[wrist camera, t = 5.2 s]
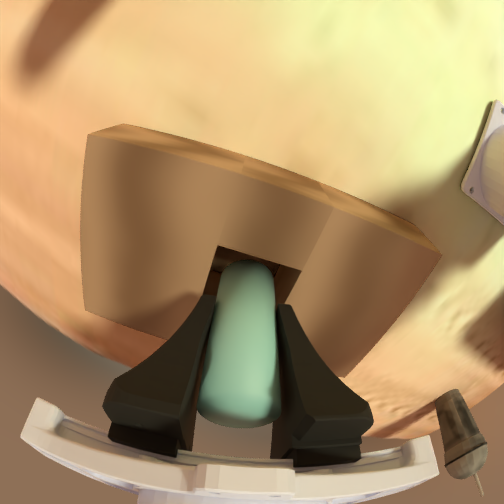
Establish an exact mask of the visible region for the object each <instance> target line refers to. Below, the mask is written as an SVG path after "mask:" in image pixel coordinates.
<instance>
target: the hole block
mask: <svg viewBox="0 0 504 504" xmlns="http://www.w3.org/2000/svg"><path fill="white" fill-rule="evenodd" d="M80 245H81V271H82V285H83V297H84V306H85V310H86V311H88V312H91V313H93V314H95V315H98V316H101V317H103V318H106V319H108V320H111V321H114V322H116V323H119V324H122V325H124V326H127V327H130V328H133V329H136V330H139V331H142V332H145V333H148V334H151V335H154V336H157V337H160V338H163V339H166V340H169V338H170V337H171V336H172V335H173V334H174V333H175V332H176V331H177V330H178V328H179V327H180V326H181V325H182V324H183V322H184V321H185V320H186V319H187V317H188V316H189V315H190V313H191V312H192V310H193V309H194V307H195V306H196V304H197V303H198V301H199V299H200V297H201V296H202V295H203V294H205V295H213V296H216V298H217V293H218V288H219V283H220V278H221V275H222V273H218V272H215V271H212V270H210V268H211V264H212V261H213V258H214V255H215V251H216V248H217V245H219V246H222V247H226V248H229V249H232V250H235V251H239V252H242V253H245V254H249V255H252V256H255V257H258V258H262V259H265V260H268V261H272V262H275V263H278V264H281V265H280V267H279V269H278V271H277V273H276V275H275V277H274V288H275V303H276V310H277V306H278V303H279V304H289V305H291V306H292V308H293V310H294V312H295V314H296V317H297V319H298V321H299V323H300V325H301V326H302V328H303V330H304V332H305V334H306V335H307V337H308V339H309V341H310V342H311V344H312V345H313V347H314V348H315V350H316V351H317V353H318V354H319V356H320V357H321V358H322V360H323V361H324V362H325V363H326V365H327V366H328V367H329V368H330V369H331V371H332V372H333V373H334V374H335V375H336V376H337V377H344V378H345V377H346V376H347V375H348V374H349V373H350V372H351V371H352V370H353V369H354V367H355V366H356V365H357V364H358V363H359V362H360V361H361V360H362V359H363V358H364V357H365V356H366V355H367V353H368V352H369V351H370V350H371V349H372V348H373V347H374V346H375V344H376V343H377V342H378V341H379V340H380V339H381V338H382V336H383V335H384V334H385V333H386V332H387V330H388V329H389V328H390V327H391V326H392V324H393V323H394V322H395V321H396V319H397V318H398V317H399V316H400V314H401V313H402V312H403V310H404V309H405V308H406V307H407V305H408V304H409V303H410V301H411V300H412V299H413V297H414V296H415V295H416V293H417V292H418V290H419V289H420V288H421V286H422V285H423V283H424V282H425V280H426V279H427V278H428V276H429V275H430V273H431V272H432V270H433V269H434V267H435V266H436V264H437V263H438V261H439V259H440V258H441V256H442V254H441V253H440V252H439V251H438V250H437V249H436V247H435V246H434V245H433V244H432V243H431V242H430V241H429V240H428V239H427V238H426V237H425V235H424V234H423V233H422V232H421V231H420V230H419V229H418V228H417V227H416V226H415V225H414V224H412V223H410V222H408V221H406V220H404V219H402V218H400V217H398V216H396V215H393V214H391V213H389V212H387V211H385V210H383V209H381V208H379V207H376V206H374V205H372V204H370V203H368V202H365V201H363V200H361V199H358V198H356V197H354V196H352V195H349V194H347V193H345V192H342V191H340V190H337V189H335V188H332V187H330V186H328V185H325V184H323V183H320V182H318V181H315V180H312V179H310V178H307V177H305V176H302V175H299V174H297V173H294V172H291V171H288V170H286V169H283V168H280V167H277V166H274V165H272V164H269V163H266V162H263V161H260V160H257V159H254V158H251V157H248V156H245V155H241V154H238V153H235V152H232V151H229V150H225V149H222V148H219V147H215V146H212V145H208V144H205V143H201V142H198V141H194V140H190V139H187V138H183V137H179V136H175V135H171V134H167V133H163V132H159V131H155V130H150V129H146V128H141V127H137V126H132V125H127V124H120V125H117V126H113V127H110V128H106V129H103V130H100V131H97V132H94V133H91V134H88V136H87V143H86V151H85V159H84V169H83V180H82V194H81V220H80ZM215 303H216V302H215Z"/></svg>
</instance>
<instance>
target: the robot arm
mask: <svg viewBox="0 0 504 504" xmlns="http://www.w3.org/2000/svg"><path fill="white" fill-rule="evenodd" d="M501 110H502V111H501ZM470 188H471V191H470ZM461 190H462V191H463V192H464V193H465V194H466V195H468V196H469V197H470V198H472V199H473V200H474V201H475V202H477V203H478V204H479V205H480V206H482V207H483V208H484V209H485V210H486V211H488V212H489V213H490V214H491V215H492V216H494V217H495V218H496V219H497V220H498V221H499V222H500V223H501V224H503V225H504V105H503V104H502V103H501V102H500V101H499V100H494V101H493V103H492V107H491V110H490V113H489V116H488V119H487V122H486V125H485V128H484V131H483V133H482V136H481V139H480V141H479V144H478V146H477V149H476V151H475V154H474V156H473V159H472V161H471V163H470V166H469V168H468V170H467V172H466V175H465V177H464V179H463V181H462V183H461ZM215 302H216V296H213V295H205V294H203V295H202V296H201V297H200V299H199V301H198V303H197V304H196V306H195V307H194V309H193V310H192V312H191V313H190V315H189V316H188V317H187V319H186V320H185V321H184V322H183V324H182V325H181V326H180V327H179V328H178V330H177V331H176V332H175V333H174V334H173V335H172V336H171V337H170V338H169V340H168V341H167V342H165V343H164V344H163V345H162V346H161V347H160V348H159V349H158V350H157V351H156V352H154V353H153V354H152V355H151V356H150V357H148V358H147V359H146V360H144V361H143V362H141V363H140V364H138V365H137V366H136V367H134V368H133V369H131V370H129V371H128V372H126V373H124V374H122V375H121V376H119V377H117V378H115V379H114V381H113V382H112V384H111V386H110V388H109V389H108V391H107V394H106V396H105V399H104V402H103V406H102V407H103V409H104V411H105V412H106V414H107V415H108V417H109V418H110V420H111V421H112V423H111V426H110V429H109V431H106V430H103V429H100V428H97V427H94V426H92V425H89V424H86V423H83V422H81V421H78V420H76V419H74V418H71V417H68V416H66V415H64V413H63V411H62V410H61V409H59V408H58V407H57V406H55V405H53V404H51V403H49V402H47V401H45V400H43V399H41V398H37V399H36V401H35V403H34V405H33V407H32V409H31V412H30V414H29V417H28V419H27V421H26V423H25V426H24V428H23V431H22V433H21V438H22V439H23V440H24V441H25V442H27V443H28V444H29V445H31V446H32V447H33V448H35V449H36V450H37V451H39V452H40V453H42V454H43V455H44V456H46V457H48V458H50V459H52V460H54V461H56V462H58V463H60V464H62V465H64V466H66V467H68V468H70V469H72V470H74V471H77V472H79V473H81V474H83V475H85V476H88V477H90V478H92V479H95V480H97V481H100V482H102V483H105V484H107V485H110V486H113V487H116V488H118V489H122V490H124V491H127V492H130V493H133V494H137V495H139V496H138V501H137V504H354V503H358V502H363V501H367V500H371V499H375V498H379V497H383V496H386V495H390V494H393V493H396V492H400V491H403V490H406V489H410V488H412V487H414V486H417V485H419V484H421V483H423V482H425V481H427V480H429V479H431V478H433V477H435V476H437V475H438V474H439V471H438V466H437V462H436V458H435V455H434V451H433V447H432V443H431V440H430V436H429V435H426V436H423V437H419V438H415V439H411V440H409V441H407V442H406V443H404V444H403V445H402V446H400V447H396V448H391V449H386V450H380V451H375V452H368V453H362V454H361V452H360V446H359V445H360V444H361V443H362V440H361V436H362V435H363V434H364V433H365V432H366V431H367V430H368V429H370V427H371V426H372V425H373V422H374V420H373V416H372V412H371V409H370V406H369V403H368V402H366V401H365V400H364V399H362V398H361V397H360V396H358V395H357V394H356V393H354V392H353V391H352V390H351V389H350V388H349V387H347V386H346V385H345V384H344V383H343V382H342V381H341V380H340V379H339V378H338V377H337V376H336V375H335V374H334V373H333V372H332V371H331V369H330V368H329V367H328V366H327V365H326V363H325V362H324V361H323V360H322V358H321V357H320V356H319V354H318V353H317V351H316V350H315V348H314V347H313V345H312V344H311V342H310V341H309V339H308V337H307V335H306V334H305V332H304V330H303V328H302V326H301V325H300V323H299V321H298V319H297V317H296V314H295V312H294V310H293V308H292V306H291V305H289V304H279V303H278V306H277V310H276V319H277V336H278V353H279V372H280V392H281V415H280V416H279V418H278V419H276V420H275V421H273V429H272V443H271V455H270V459H256V458H240V457H228V456H218V455H211V454H204V453H197V452H192V446H193V436H194V427H195V420H196V413H197V400H198V394H199V388H200V383H201V377H202V372H203V366H204V361H205V355H206V350H207V344H208V339H209V334H210V329H211V323H212V319H213V314H214V309H215Z"/></svg>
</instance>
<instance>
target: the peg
mask: <svg viewBox="0 0 504 504" xmlns="http://www.w3.org/2000/svg"><path fill="white" fill-rule="evenodd" d="M197 410H198V412H199V413H200V415H202V416H203V417H204V418H206V419H207V420H209V421H211V422H213V423H216V424H219V425H222V426H227V427H233V428H254V427H260V426H264V425H267V424H269V423H272V422H273V421H275V420H276V419H278V418H279V416H280V415H281V392H280V372H279V353H278V336H277V319H276V303H275V288H274V278H273V275H272V273H271V271H270V270H269V269H268V268H267V267H266V266H265V265H264V264H262V263H260V262H258V261H254V260H239V261H236V262H233V263H231V264H230V265H228V266H227V267H226V268H225V269H224V271H223V272H222V275H221V278H220V283H219V288H218V293H217V298H216V303H215V309H214V314H213V319H212V323H211V329H210V334H209V339H208V344H207V350H206V355H205V361H204V366H203V372H202V377H201V383H200V388H199V394H198V400H197Z"/></svg>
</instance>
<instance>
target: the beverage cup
mask: <svg viewBox="0 0 504 504" xmlns="http://www.w3.org/2000/svg"><path fill="white" fill-rule="evenodd" d="M435 406H436V410H437V411H436V412H437V416H438V421H439V425H440V430H441V435H442V440H443V445H444V451H445V454H444V457H445V467H446V469H447V471H448V473H449V474H450V475H451V476H452V477H454V478H456V479H465V478H467V477H469V476H471V475H473V476H474V478H475V481H476V484H477V487H478V489H479V493H480V496H481V497H482V496H483V495H484V493H483V490H482V488H481V485H480V482H479V479H478V477H477V474H476V473H477V472H478V471H479V470H480V469H481V468H482V466H483V465H484V463H485V461H486V458H487V453H488V449H487V442H486V441H485V439H484V437H483V435H482V434H481V433H480V431H479V429H478V427H477V425H476V423H475V421H474V418H473V416H472V414H471V412H470V410H469V408H468V406H467V404H466V403H465V401H464V399H463V397H462V396H461V394H460V393H459V390H458V389H454V390H451V391H449V392H447V393H445V394H443V395H442V396H441V397H439V398H438V399H437V400H436V402H435Z"/></svg>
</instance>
